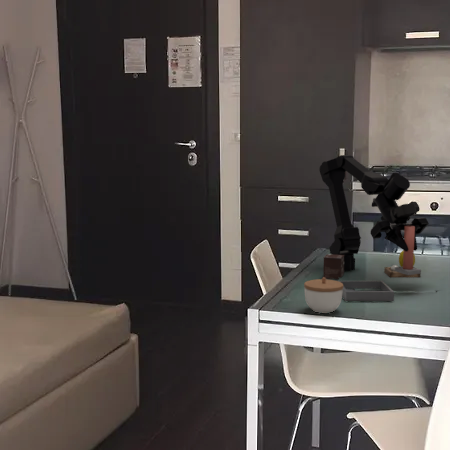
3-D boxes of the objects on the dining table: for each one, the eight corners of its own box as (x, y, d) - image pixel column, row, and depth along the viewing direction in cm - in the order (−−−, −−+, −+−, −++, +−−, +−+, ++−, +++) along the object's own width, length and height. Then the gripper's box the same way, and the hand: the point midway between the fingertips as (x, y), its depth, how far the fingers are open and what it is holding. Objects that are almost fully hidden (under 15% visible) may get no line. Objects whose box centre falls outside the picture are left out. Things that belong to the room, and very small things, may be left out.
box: (341, 280, 235) (341, 258, 234) (322, 278, 237) (323, 257, 236) (344, 276, 241) (344, 254, 240) (326, 274, 243) (326, 253, 242)
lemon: (416, 272, 246) (417, 250, 245) (400, 272, 246) (401, 249, 245) (412, 269, 251) (413, 247, 250) (396, 269, 251) (397, 246, 250)
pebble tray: (390, 279, 236) (390, 272, 235) (384, 274, 243) (384, 267, 243) (420, 279, 236) (420, 272, 235) (413, 274, 244) (413, 267, 243)
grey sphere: (391, 274, 239) (391, 266, 238) (389, 272, 242) (389, 264, 241) (400, 274, 239) (400, 266, 238) (398, 272, 242) (398, 264, 241)
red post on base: (394, 271, 219) (396, 225, 217) (407, 269, 222) (409, 224, 219) (407, 275, 214) (409, 228, 212) (420, 273, 216) (422, 227, 214)
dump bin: (337, 290, 221) (337, 280, 221) (382, 290, 222) (382, 280, 221) (345, 302, 207) (346, 292, 207) (393, 301, 208) (394, 291, 207)
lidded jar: (295, 310, 198) (296, 277, 197) (319, 303, 206) (320, 271, 204) (326, 318, 191) (327, 284, 189) (350, 310, 198) (351, 277, 197)
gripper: (377, 194, 213) (400, 236, 205) (426, 191, 222) (449, 232, 214) (360, 217, 222) (382, 258, 214) (408, 213, 230) (430, 253, 222)
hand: (411, 250), depth 215 cm, fingers closed on red post on base, 3 cm apart
